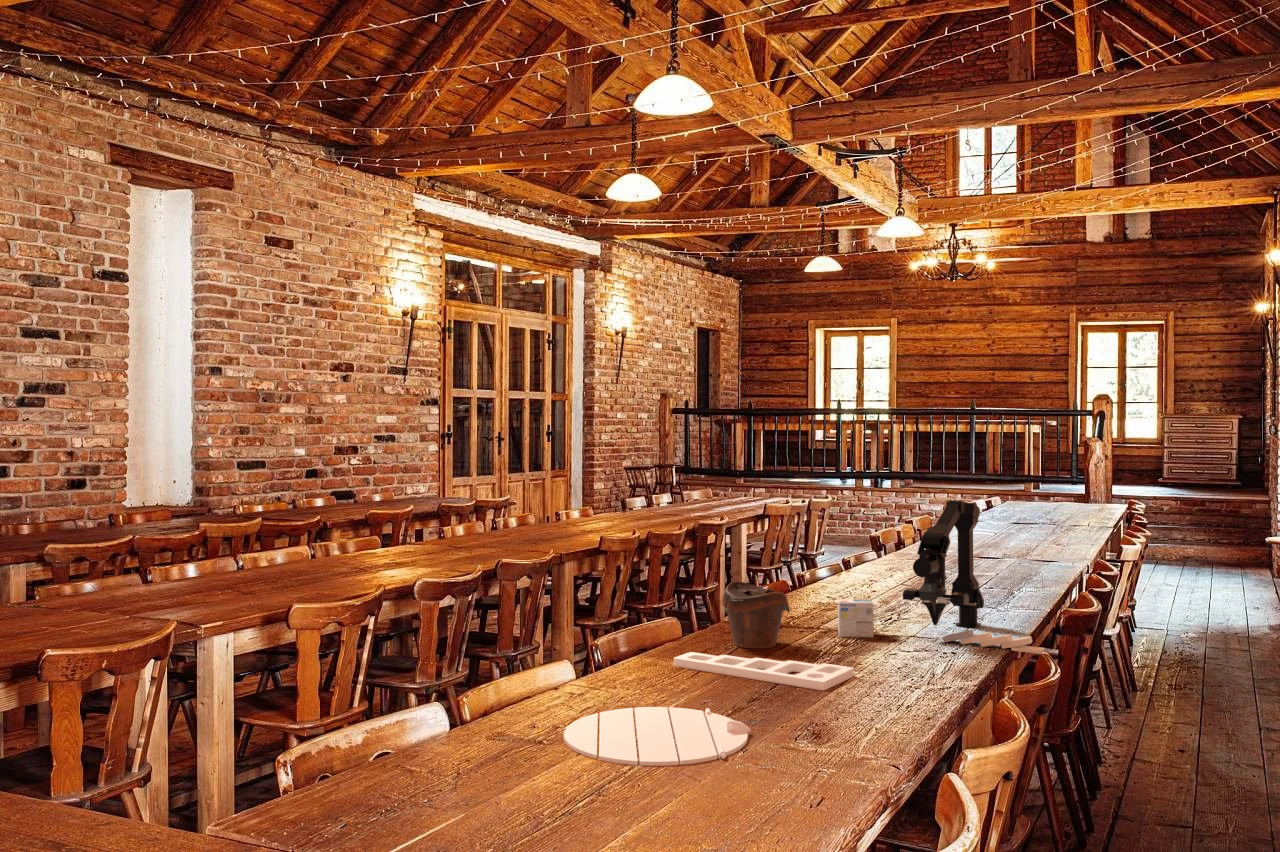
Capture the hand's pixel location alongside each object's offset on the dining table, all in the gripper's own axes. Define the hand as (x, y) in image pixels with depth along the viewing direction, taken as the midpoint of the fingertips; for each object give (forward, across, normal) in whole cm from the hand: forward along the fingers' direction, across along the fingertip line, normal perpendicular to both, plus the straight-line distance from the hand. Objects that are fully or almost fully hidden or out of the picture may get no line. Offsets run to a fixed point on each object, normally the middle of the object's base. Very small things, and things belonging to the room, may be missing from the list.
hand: (935, 624), depth 325 cm
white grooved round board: (+5, -18, -127) cm, 128 cm away
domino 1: (+4, +3, 0) cm, 5 cm away
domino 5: (+4, +23, 0) cm, 23 cm away
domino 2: (+4, +8, 0) cm, 9 cm away
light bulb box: (+5, -23, -6) cm, 24 cm away
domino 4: (+4, +20, 0) cm, 20 cm away
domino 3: (+4, +14, 0) cm, 15 cm away
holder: (+5, -26, -63) cm, 69 cm away
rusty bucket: (+5, -42, -35) cm, 55 cm away
